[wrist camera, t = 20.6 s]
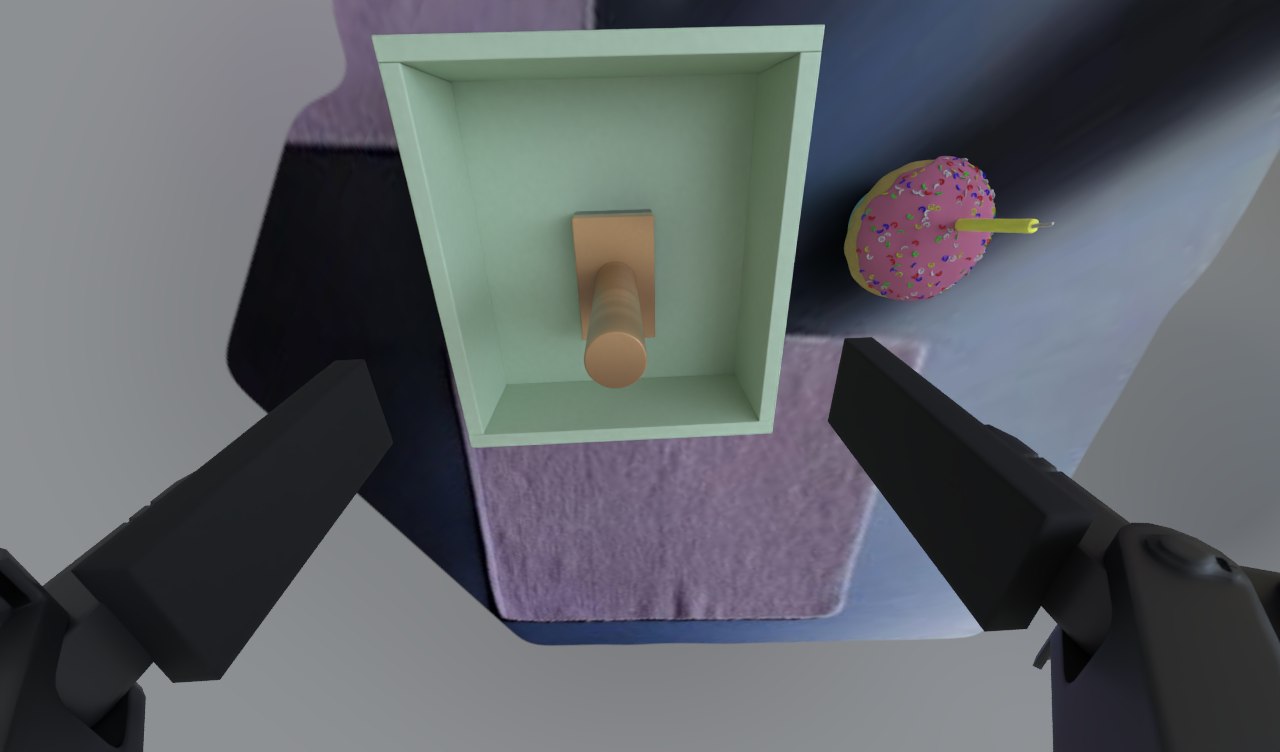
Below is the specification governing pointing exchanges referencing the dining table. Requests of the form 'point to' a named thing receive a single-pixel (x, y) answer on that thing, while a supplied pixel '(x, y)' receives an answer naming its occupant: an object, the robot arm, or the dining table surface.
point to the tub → (599, 181)
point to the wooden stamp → (615, 292)
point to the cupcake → (924, 228)
